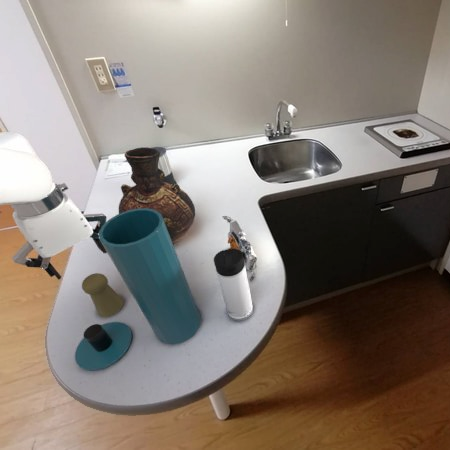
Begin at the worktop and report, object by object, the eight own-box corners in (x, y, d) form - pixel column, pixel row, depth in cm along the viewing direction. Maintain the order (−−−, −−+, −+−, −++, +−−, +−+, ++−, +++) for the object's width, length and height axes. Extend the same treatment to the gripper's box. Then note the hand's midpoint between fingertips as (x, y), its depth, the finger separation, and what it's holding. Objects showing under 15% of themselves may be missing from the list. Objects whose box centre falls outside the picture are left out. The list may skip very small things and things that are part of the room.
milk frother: (164, 178, 126) (153, 144, 117) (194, 186, 121) (185, 152, 112) (137, 195, 117) (122, 161, 107) (169, 206, 111) (156, 170, 102)
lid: (91, 383, 64) (75, 368, 60) (69, 350, 69) (53, 334, 65) (142, 343, 71) (131, 327, 66) (118, 316, 76) (106, 300, 72)
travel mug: (229, 325, 74) (213, 270, 61) (227, 303, 79) (212, 247, 66) (254, 319, 75) (244, 264, 62) (251, 298, 80) (241, 242, 67)
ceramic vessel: (125, 261, 91) (76, 172, 71) (140, 223, 104) (102, 140, 84) (198, 253, 93) (170, 165, 73) (203, 217, 106) (180, 135, 87)
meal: (224, 251, 93) (216, 218, 85) (237, 246, 95) (230, 213, 87) (246, 283, 84) (240, 249, 75) (260, 276, 86) (255, 242, 77)
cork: (128, 303, 79) (111, 275, 72) (106, 321, 75) (86, 293, 68) (115, 293, 82) (96, 265, 74) (93, 310, 78) (71, 282, 71)
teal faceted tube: (172, 353, 69) (117, 255, 48) (147, 327, 74) (88, 228, 53) (209, 321, 75) (174, 223, 54) (184, 299, 80) (143, 201, 60)
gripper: (78, 174, 64) (111, 234, 75) (-26, 215, 54) (31, 278, 65) (94, 187, 60) (127, 248, 71) (-14, 233, 50) (44, 296, 61)
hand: (81, 262), depth 68 cm, fingers open, 9 cm apart
